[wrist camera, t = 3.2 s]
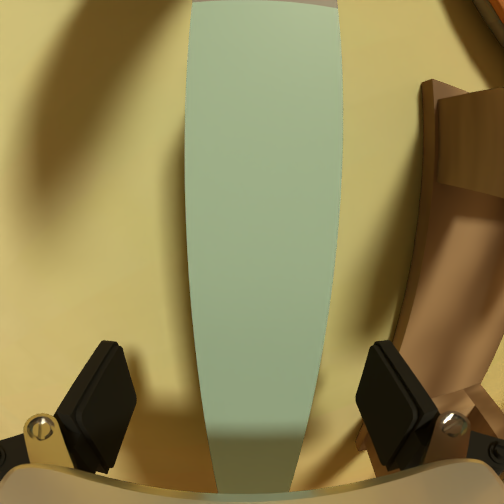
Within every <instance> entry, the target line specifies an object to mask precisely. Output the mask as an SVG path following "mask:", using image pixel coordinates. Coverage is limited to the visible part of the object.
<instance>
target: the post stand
mask: <svg viewBox="0 0 504 504" xmlns="http://www.w3.org/2000/svg"><path fill="white" fill-rule="evenodd" d="M422 96H423V168H422V184H421V196H420V206H419V215H418V223H417V231H416V238H415V244H414V250H413V256H412V262H411V267H410V273H409V278H408V283H407V287H406V292H405V296H404V301H403V305H402V309H401V313H400V317H399V321H398V324H397V328H396V332H395V335H394V339H393V342H392V344H393V345H394V346H395V348H396V349H397V350H398V352H399V353H400V355H401V356H402V357H403V359H404V360H405V362H406V363H407V364H408V366H409V367H410V369H411V370H412V371H413V373H414V374H415V376H416V377H417V379H418V380H419V381H420V383H421V384H422V386H423V387H424V389H425V390H426V392H427V393H428V395H429V396H430V398H431V399H432V401H433V402H434V404H435V405H436V407H437V408H438V411H439V413H440V414H442V413H444V412H446V411H457V412H459V413H462V414H463V415H465V416H466V417H467V418H468V420H469V422H470V424H471V431H475V432H478V433H481V434H485V435H489V436H492V437H496V438H500V439H503V440H504V414H503V412H502V411H501V410H500V408H499V407H498V406H497V404H496V403H495V402H494V401H493V399H492V398H491V397H490V396H489V394H488V393H487V392H486V391H485V389H484V388H483V387H482V386H481V382H482V380H483V378H484V376H485V374H486V372H487V370H488V368H489V366H490V364H491V362H492V360H493V358H494V355H495V353H496V351H497V349H498V346H499V344H500V342H501V339H502V337H503V335H504V87H501V88H495V89H489V90H483V91H477V92H471V93H469V92H466V91H464V90H461V89H459V88H456V87H454V86H451V85H448V84H446V83H443V82H440V81H437V80H434V79H430V80H428V81H425V82H422ZM355 443H356V446H357V449H358V451H362V450H367V452H368V455H369V458H370V460H371V463H372V466H373V469H374V472H375V475H376V478H377V477H381V476H385V475H389V474H392V473H396V472H400V468H399V469H396V470H392V471H389V472H388V471H387V468H386V466H383V465H382V464H381V463H380V460H379V458H378V455H377V453H376V450H375V448H374V445H373V443H372V440H371V438H370V435H369V433H368V430H367V428H366V425H365V423H363V425H362V428H361V430H360V432H359V434H358V437H357V439H356V441H355Z"/></svg>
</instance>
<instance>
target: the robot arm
mask: <svg viewBox="0 0 504 504" xmlns="http://www.w3.org/2000/svg"><path fill="white" fill-rule="evenodd" d="M136 401H137V398H136V393H135V390H134V387H133V384H132V380H131V377H130V374H129V370H128V367H127V363H126V359H125V356H124V352H123V348H122V347H121V346H119V345H118V343H117V342H114V341H105V340H103V341H101V343H100V344H99V346H98V347H97V348H96V350H95V351H94V353H93V354H92V356H91V357H90V359H89V360H88V362H87V363H86V365H85V366H84V368H83V369H82V371H81V372H80V374H79V375H78V377H77V379H76V380H75V382H74V383H73V385H72V386H71V388H70V390H69V391H68V393H67V394H66V396H65V398H64V399H63V401H62V402H61V404H60V406H59V407H58V409H57V411H56V412H55V414H54V416H52V415H49V414H45V413H40V414H36V415H33V416H32V417H30V418H29V419H28V420H27V421H26V423H25V425H24V428H23V432H24V433H23V434H20V435H17V436H14V437H10V438H7V439H4V440H0V504H504V440H503V439H500V438H496V437H492V436H489V435H485V434H481V433H478V432H475V431H471V424H470V422H469V420H468V418H467V417H466V416H465V415H463V414H462V413H459V412H457V411H446V412H444V413H442V414H440V413H439V411H438V408H437V407H436V405H435V404H434V402H433V401H432V399H431V398H430V396H429V395H428V393H427V392H426V390H425V389H424V387H423V386H422V384H421V383H420V381H419V380H418V379H417V377H416V376H415V374H414V373H413V371H412V370H411V369H410V367H409V366H408V364H407V363H406V362H405V360H404V359H403V357H402V356H401V355H400V353H399V352H398V350H397V349H396V348H395V346H394V345H393V344H392V342H391V341H390V340H385V341H377V342H375V343H374V345H373V346H371V347H370V349H369V352H368V356H367V360H366V363H365V367H364V370H363V374H362V377H361V380H360V383H359V387H358V390H357V393H356V404H357V406H358V408H359V411H360V413H361V416H362V418H363V420H364V423H365V425H366V428H367V430H368V433H369V435H370V438H371V440H372V443H373V445H374V448H375V450H376V453H377V455H378V458H379V460H380V463H381V464H382V465H383V466H386V468H387V471H388V472H389V471H392V470H396V469H399V468H400V472H396V473H392V474H389V475H385V476H381V477H377V478H373V479H368V480H364V481H360V482H355V483H350V484H345V485H339V486H334V487H328V488H321V489H313V490H305V491H296V492H284V493H268V494H218V493H201V492H189V491H180V490H172V489H164V488H158V487H152V486H146V485H141V484H136V483H131V482H126V481H121V480H117V479H112V478H108V477H104V476H100V475H96V474H95V473H96V471H98V472H101V473H105V474H108V471H109V468H113V467H114V464H115V461H116V459H117V456H118V453H119V450H120V447H121V444H122V441H123V438H124V435H125V433H126V430H127V427H128V424H129V422H130V419H131V416H132V413H133V411H134V408H135V405H136Z"/></svg>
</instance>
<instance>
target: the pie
mask: <svg viewBox="0 0 504 504" xmlns="http://www.w3.org/2000/svg"><path fill="white" fill-rule="evenodd" d="M472 1H473V3H474V5H475V6H476V8H477V9H478V11H479V13H480V14H481V16H482V17H483V19H484V21H485V23H486V24H487V26H488V27H489V28H490V30H491V31H492V33H493V34H494V35H495V37H496V38H497V40H498V41H499V43H500V44H501V46H502V47H503V48H504V0H472Z"/></svg>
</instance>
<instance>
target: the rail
mask: <svg viewBox="0 0 504 504" xmlns="http://www.w3.org/2000/svg"><path fill="white" fill-rule="evenodd" d="M342 154H343V79H342V56H341V39H340V26H339V15H338V5H337V0H193V1H192V10H191V21H190V32H189V45H188V60H187V78H186V103H185V208H186V234H187V254H188V270H189V285H190V298H191V310H192V321H193V331H194V341H195V350H196V359H197V367H198V375H199V383H200V391H201V398H202V405H203V412H204V418H205V424H206V431H207V437H208V443H209V448H210V454H211V459H212V465H213V470H214V475H215V480H216V485H217V490H218V494H268V493H284V492H289V490H290V486H291V483H292V480H293V476H294V473H295V469H296V466H297V462H298V459H299V455H300V451H301V447H302V443H303V439H304V435H305V431H306V427H307V423H308V419H309V415H310V410H311V406H312V401H313V396H314V392H315V387H316V382H317V377H318V372H319V366H320V361H321V356H322V350H323V344H324V338H325V332H326V326H327V319H328V313H329V306H330V298H331V291H332V283H333V275H334V266H335V257H336V247H337V237H338V225H339V212H340V197H341V179H342Z"/></svg>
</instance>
